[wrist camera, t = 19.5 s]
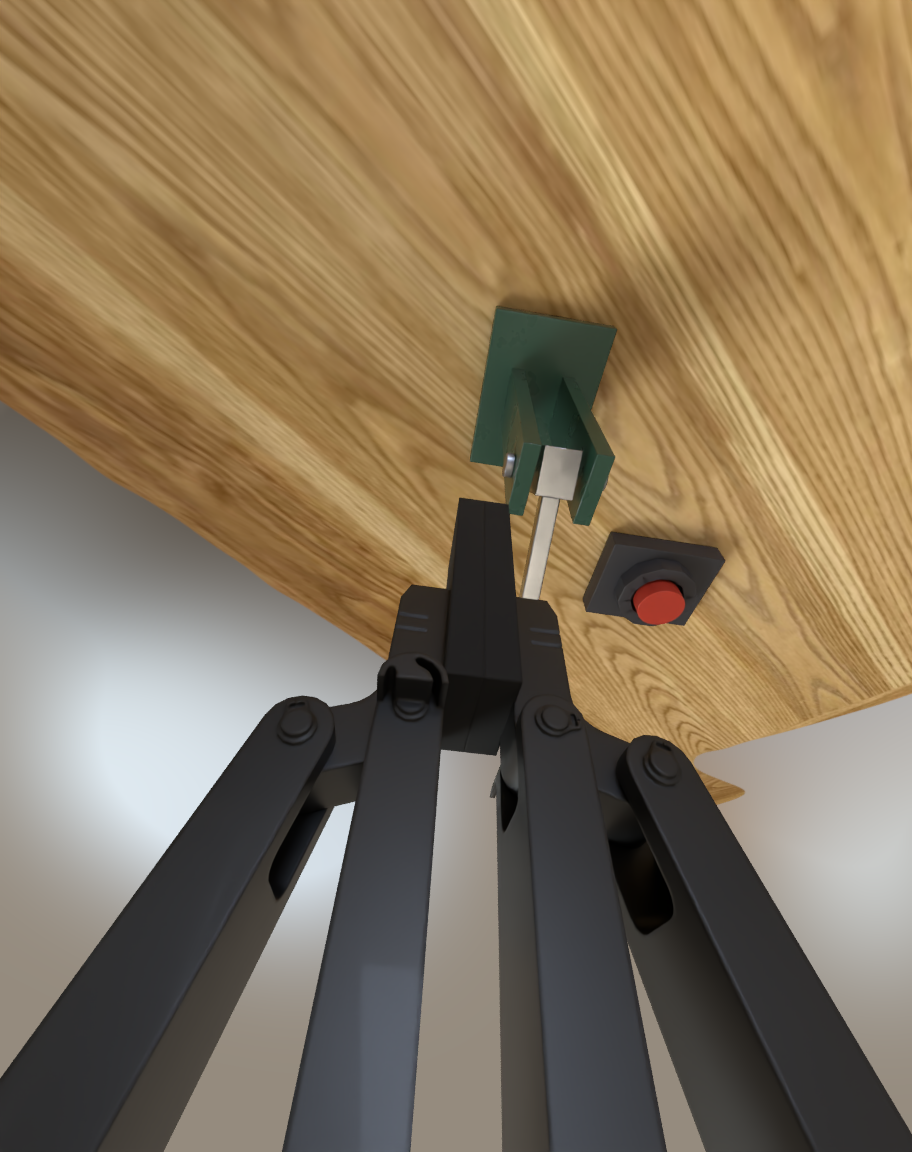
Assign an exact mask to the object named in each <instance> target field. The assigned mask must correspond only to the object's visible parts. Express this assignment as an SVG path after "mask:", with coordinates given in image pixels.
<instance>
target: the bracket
mask: <svg viewBox="0 0 912 1152" xmlns="http://www.w3.org/2000/svg"><path fill="white" fill-rule="evenodd" d="M616 332H617V329H616V328H615V327H614V326H611V325H605V324H599V323H593V322H588V321H582V320H576V319H570V318H564V317H559V316H553V315H547V314H541V313H536V312H530V311H524V310H518V309H512V308H507V307H501V306H496V309H495V315H494V321H493V327H492V333H491V338H490V344H489V350H488V356H487V362H486V368H485V373H484V379H483V385H482V391H481V397H480V403H479V408H478V414H477V420H476V426H475V432H474V438H473V443H472V449H471V455H470V462H476V463H482V464H489V465H495V466H502V467H503V471H502V475H503V477H504V483H505V499H506V504H508V505H509V514H514V515H521V516H523V513H524V509H525V506H526V502H527V498H528V495H529V491H530V487H531V484H532V480H533V476H534V473H535V469H536V465H537V461H538V458H539V454H540V450H541V447H542V445H548V446H554V447H561V448H567V449H573V450H580V451H583V455H582V460H581V465H580V469H579V474H578V478H577V483H576V487H575V492H574V497H573V500H572V501H569V500H567V503H568V507H569V510H570V514H571V518H572V521H573V524H580V525H586V526H589V525H590V522H591V520H592V517H593V514H594V512H595V509H596V507H597V504H598V501H599V499H600V496H601V493H602V491H603V490H604V489H605V487H606V485H607V481H608V475H609V472H610V470H611V467H612V465H613V462H614V459H615V456H614V454H613V452H612V450H611V448H610V446H609V444H608V442H607V440H606V438H605V436H604V434H603V432H602V430H601V428H600V427H599V425H598V423H597V421H596V419H595V417H594V415H593V413H592V411H591V409H592V406H593V402H594V399H595V396H596V393H597V390H598V387H599V384H600V381H601V378H602V375H603V372H604V369H605V365H606V362H607V359H608V356H609V353H610V350H611V347H612V344H613V341H614V338H615V335H616Z"/></svg>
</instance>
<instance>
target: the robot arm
mask: <svg viewBox="0 0 912 1152" xmlns="http://www.w3.org/2000/svg"><path fill="white" fill-rule="evenodd" d="M559 633H560V631H559V625H558V619H557V615H556V614H555V612H554V611H553V609H552V608H551V607H550V605H549V604H548V602H547V601H543V600H536V599H528V598H520V597H516V590H515V577H514V565H513V552H512V539H511V526H510V514H509V505H508V504H501V503H494V502H487V501H480V500H473V499H465V498H459V504H458V510H457V517H456V523H455V529H454V536H453V542H452V549H451V555H450V561H449V568H448V578H447V588H446V589H442V588H435V587H427V586H419V585H411V586H410V587H409V588H408V590H407V591H406V592H405V593H404V594H403V595H402V596H401V600H400V604H399V609H398V615H397V619H396V624H395V628H394V633H393V638H392V643H391V648H390V652H389V657H388V660H387V661H386V662H384V663H383V664H382V666H381V668H380V671H379V673H378V677H377V690H376V691H375V692H373V693H372V694H371V695H370V696H368V697H366V698H365V699H362V700H360V701H357V702H353V703H350V704H345V705H338V706H333V707H329V706H328V705H327V704H326V703H324V702H323V701H321V700H319V699H318V698H315V697H309V696H298V697H291V698H287V699H286V700H283V701H281V702H280V703H277V704H275V705H274V706H273V707H272V708H271V709H270V710H269V711H268V712H267V713H266V714H265V716H264V717H263V718H262V719H261V721H260V722H259V724H258V725H257V726H256V728H255V729H254V730H253V732H252V733H251V735H250V736H249V737H248V739H247V740H246V741H245V743H244V744H243V746H242V747H241V748H240V750H239V751H238V752H237V754H236V755H235V757H234V758H233V759H232V761H231V762H230V763H229V765H228V766H227V768H226V769H225V770H224V772H223V773H222V775H221V776H220V777H219V779H218V780H217V781H216V783H215V784H214V785H213V787H212V788H211V790H210V791H209V793H208V794H207V795H206V796H205V798H204V799H203V801H202V802H201V803H200V805H199V806H198V807H197V809H196V810H195V812H194V813H193V814H192V816H191V817H190V818H189V820H188V821H187V823H186V824H185V825H184V827H183V828H182V829H181V831H180V832H179V834H178V835H177V836H176V838H175V839H174V840H173V842H172V843H171V845H170V846H169V848H168V849H167V850H166V851H165V853H164V854H163V856H162V857H161V858H160V860H159V861H158V863H157V864H156V865H155V867H154V868H153V869H152V871H151V872H150V873H149V875H148V876H147V878H146V879H145V881H144V882H143V883H142V884H141V886H140V887H139V889H138V890H137V891H136V893H135V894H134V895H133V897H132V898H131V900H130V901H129V903H128V904H127V905H126V906H125V908H124V909H123V911H122V912H121V913H120V915H119V916H118V917H117V919H116V920H115V922H114V923H113V925H112V926H111V927H110V928H109V930H108V931H107V933H106V934H105V935H104V937H103V938H102V939H101V941H100V942H99V944H98V945H97V946H96V948H95V949H94V950H93V952H92V953H91V955H90V956H89V957H88V959H87V960H86V962H85V963H84V964H83V966H82V967H81V968H80V970H79V971H78V973H77V974H76V975H75V977H74V978H73V979H72V981H71V982H70V983H69V985H68V986H67V988H66V989H65V990H64V992H63V993H62V994H61V996H60V997H59V999H58V1000H57V1001H56V1003H55V1004H54V1005H53V1007H52V1008H51V1010H50V1011H49V1012H48V1014H47V1015H46V1016H45V1018H44V1019H43V1021H42V1022H41V1023H40V1025H39V1026H38V1027H37V1029H36V1031H35V1032H34V1033H33V1034H32V1036H31V1037H30V1038H29V1040H28V1041H27V1043H26V1044H25V1045H24V1047H23V1048H22V1050H21V1051H20V1052H19V1054H18V1055H17V1056H16V1058H15V1059H14V1060H13V1062H12V1063H11V1065H10V1066H9V1067H8V1069H7V1070H6V1071H5V1073H4V1074H3V1076H2V1077H1V1078H0V1152H164V1150H165V1148H166V1146H167V1144H168V1142H169V1139H170V1137H171V1135H172V1133H173V1131H174V1129H175V1127H176V1125H177V1123H178V1121H179V1119H180V1117H181V1115H182V1113H183V1111H184V1109H185V1107H186V1105H187V1103H188V1101H189V1099H190V1097H191V1095H192V1093H193V1091H194V1089H195V1087H196V1085H197V1083H198V1081H199V1079H200V1077H201V1075H202V1073H203V1071H204V1069H205V1067H206V1065H207V1063H208V1061H209V1058H210V1057H211V1055H212V1053H213V1051H214V1048H215V1047H216V1044H217V1043H218V1041H219V1038H220V1037H221V1035H222V1033H223V1030H224V1028H225V1026H226V1024H227V1022H228V1020H229V1018H230V1016H231V1014H232V1012H233V1010H234V1008H235V1006H236V1004H237V1002H238V1000H239V998H240V996H241V994H242V992H243V990H244V988H245V986H246V984H247V982H248V980H249V978H250V976H251V974H252V972H253V970H254V968H255V966H256V964H257V962H258V960H259V958H260V956H261V954H262V952H263V950H264V948H265V946H266V944H267V941H268V939H269V938H270V935H271V934H272V932H273V930H274V927H275V925H276V923H277V921H278V919H279V917H280V915H281V913H282V911H283V909H284V907H285V905H286V903H287V901H288V899H289V897H290V895H291V893H292V891H293V889H294V887H295V885H296V883H297V881H298V879H299V877H300V875H301V873H302V871H303V869H304V867H305V865H306V863H307V861H308V859H309V857H310V855H311V853H312V851H313V849H314V847H315V845H316V842H317V841H318V839H319V837H320V835H321V833H322V831H323V828H324V827H325V825H326V822H327V821H328V819H329V817H330V814H331V812H332V810H333V808H334V806H338V805H342V804H346V803H350V802H354V801H355V806H354V811H353V816H352V821H351V825H350V830H349V835H348V840H347V844H346V849H345V854H344V859H343V863H342V869H341V873H340V878H339V883H338V887H337V892H336V897H335V902H334V907H333V911H332V916H331V921H330V925H329V930H328V935H327V940H326V944H325V949H324V954H323V959H322V963H321V969H320V973H319V979H318V983H317V987H316V992H315V997H314V1002H313V1006H312V1011H311V1016H310V1021H309V1026H308V1030H307V1035H306V1040H305V1045H304V1049H303V1054H302V1059H301V1064H300V1068H299V1074H298V1078H297V1083H296V1087H295V1092H294V1097H293V1102H292V1107H291V1111H290V1116H289V1121H288V1125H287V1131H286V1135H285V1140H284V1144H283V1150H282V1152H410V1147H411V1135H412V1122H413V1109H414V1095H415V1081H416V1068H417V1056H418V1041H419V1030H420V1017H421V1016H420V1015H421V1003H422V989H423V977H424V964H425V951H426V937H427V923H428V911H429V898H430V884H431V871H432V857H433V845H434V844H433V843H434V831H435V819H436V818H435V817H436V806H437V791H438V779H439V766H440V753H441V749H442V750H451V751H459V752H468V753H478V754H486V755H495V756H496V755H497V752H498V749H499V746H500V758H501V765H500V767H499V770H498V773H497V775H496V778H495V780H494V783H493V786H492V789H491V794H490V797H491V798H495V796H496V798H497V799H496V802H497V859H498V860H497V862H498V920H499V976H500V977H499V979H500V1031H501V1032H500V1036H501V1095H502V1152H667V1150H666V1144H665V1139H664V1134H663V1128H662V1123H661V1118H660V1113H659V1107H658V1102H657V1097H656V1092H655V1086H654V1081H653V1075H652V1070H651V1065H650V1059H649V1054H648V1049H647V1044H646V1038H645V1033H644V1028H643V1023H642V1017H641V1012H640V1007H639V1001H638V996H637V991H636V986H635V980H634V975H633V970H632V965H631V959H630V954H629V949H628V944H629V947H630V949H631V952H632V955H633V957H634V960H635V963H636V966H637V968H638V971H639V974H640V976H641V979H642V982H643V984H644V987H645V990H646V992H647V995H648V998H649V1000H650V1003H651V1006H652V1009H653V1011H654V1014H655V1016H656V1019H657V1022H658V1024H659V1027H660V1030H661V1033H662V1035H663V1038H664V1041H665V1043H666V1046H667V1049H668V1051H669V1054H670V1057H671V1059H672V1062H673V1064H674V1067H675V1070H676V1073H677V1075H678V1078H679V1081H680V1083H681V1086H682V1089H683V1091H684V1094H685V1097H686V1099H687V1102H688V1105H689V1108H690V1110H691V1113H692V1116H693V1118H694V1121H695V1124H696V1126H697V1129H698V1132H699V1134H700V1137H701V1140H702V1142H703V1145H704V1148H705V1150H706V1152H912V1134H911V1132H910V1130H909V1129H908V1127H907V1125H906V1124H905V1122H904V1120H903V1119H902V1117H901V1115H900V1113H899V1112H898V1110H897V1108H896V1107H895V1105H894V1103H893V1102H892V1100H891V1098H890V1097H889V1095H888V1093H887V1092H886V1090H885V1088H884V1086H883V1085H882V1083H881V1081H880V1080H879V1078H878V1076H877V1075H876V1073H875V1071H874V1070H873V1068H872V1066H871V1065H870V1063H869V1061H868V1060H867V1058H866V1056H865V1054H864V1053H863V1051H862V1049H861V1048H860V1046H859V1044H858V1043H857V1041H856V1039H855V1038H854V1036H853V1034H852V1033H851V1031H850V1029H849V1028H848V1026H847V1024H846V1022H845V1021H844V1019H843V1017H842V1016H841V1014H840V1012H839V1011H838V1009H837V1007H836V1006H835V1004H834V1002H833V1001H832V999H831V997H830V996H829V994H828V992H827V990H826V989H825V987H824V986H823V984H822V982H821V980H820V979H819V977H818V975H817V974H816V972H815V970H814V969H813V967H812V965H811V964H810V962H809V960H808V959H807V957H806V955H805V954H804V952H803V950H802V948H801V947H800V945H799V943H798V942H797V940H796V938H795V937H794V935H793V933H792V932H791V930H790V928H789V927H788V925H787V923H786V921H785V920H784V918H783V916H782V915H781V913H780V911H779V910H778V908H777V906H776V905H775V903H774V901H773V900H772V898H771V896H770V895H769V893H768V891H767V889H766V888H765V886H764V885H763V883H762V881H761V879H760V878H759V876H758V874H757V873H756V871H755V869H754V868H753V866H752V864H751V863H750V861H749V859H748V857H747V856H746V854H745V852H744V851H743V849H742V847H741V846H740V844H739V843H738V841H737V839H736V837H735V836H734V834H733V833H732V831H731V829H730V827H729V825H728V824H727V822H726V821H725V819H724V817H723V815H722V814H721V812H720V810H719V809H718V807H717V805H716V804H715V802H714V800H713V799H712V797H711V795H710V793H709V792H708V790H707V788H706V787H705V785H704V783H703V782H702V780H701V778H700V777H699V775H698V773H697V772H696V770H695V768H694V767H693V765H692V763H691V762H690V761H689V759H688V758H687V757H686V755H685V754H684V753H683V752H682V751H681V750H680V749H679V748H677V747H676V746H675V745H674V744H672V743H671V742H670V741H667V740H665V739H662V738H660V737H658V736H650V735H643V736H640V737H637V738H634V739H633V740H632V742H631V743H628V742H626V741H623V740H621V739H619V738H616V737H614V736H611V735H609V734H607V733H604V732H602V731H600V730H598V729H597V728H595V727H593V726H592V725H591V724H589V723H588V722H587V721H585V720H584V718H583V716H582V714H581V713H580V711H579V710H578V709H577V708H576V707H575V706H574V704H573V702H572V698H571V695H570V689H569V683H568V677H567V671H566V666H565V660H564V654H563V648H562V642H561V637H560V635H559ZM627 942H628V943H627Z"/></svg>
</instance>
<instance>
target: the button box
mask: <svg viewBox="0 0 912 1152" xmlns="http://www.w3.org/2000/svg"><path fill="white" fill-rule="evenodd" d="M724 562H725V559H724V558H723V556H722V555H721V553H720V552H719V550H718V549H717V548H714V547H708V546H701V545H695V544H688V543H682V542H675V541H668V540H662V539H655V538H649V537H642V536H635V535H629V534H622V533H616V532H610V535H609V537H608V540H607V542H606V544H605V547H604V549H603V551H602V554H601V556H600V559H599V561H598V563H597V566H596V568H595V570H594V573H593V575H592V578H591V580H590V582H589V585H588V587H587V590H586V592H585V594H584V597H583V602H584V606H585V610H586V612H592V613H599V614H606V615H613V616H620V617H625V618H627V619H628V620H629V621H631V622H632V623H634V624H640V625H647V626H655V624H649V623H646V622H644V621H642V620H641V619H640V618H639V616H638V614H637V611H636V608H635V606H634V603H633V598H634V595H635V593H636V591H637V590H638V589H639V588H640V587H641V586H643V585H644V584H646V583H648V582H651V581H655V580H667V581H670V582H673V583H674V584H675V585H677V587H678V588H679V590H680V592H681V594H682V596H683V598H684V600H685V608H684V610H683V612H682V613H681V615H680V616H678V617H677V618H676V619H674V620H673V621H670V622H668V623H669V624H676V625H683V626H684V625H685V624H686V622H687V620H688V619H689V617H690V616H691V614H692V613H693V611H694V609H695V608H696V606H697V605H698V603H699V602H700V600H701V598H702V597H703V595H704V594H705V592H706V591H707V589H708V587H709V586H710V584H711V583H712V581H713V580H714V578H715V577H716V575H717V573H718V572H719V570H720V569H721V567H722V566H723V564H724ZM658 625H660V624H658Z"/></svg>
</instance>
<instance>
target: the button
mask: <svg viewBox="0 0 912 1152" xmlns="http://www.w3.org/2000/svg"><path fill="white" fill-rule="evenodd" d="M633 603H634V606H635V608H636V611H637V614H638V616H639V618H640V619H641V620H642V621H644V622H646V623H649V624H655V625H658V624H665V623H668V622H670V621H673V620H674V619H676V618H677V617H678V616H680V615H681V613H682V612H683V610H684V608H685V600H684V598H683V596H682V594H681V592H680V590H679V588H678V587H677V585H675V584H674V583H673V582H670V581H667V580H655V581H651V582H648V583H646V584H644V585H643V586H641V587H640V588H639V589H638V590H637V591H636V593H635V595H634V598H633Z"/></svg>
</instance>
